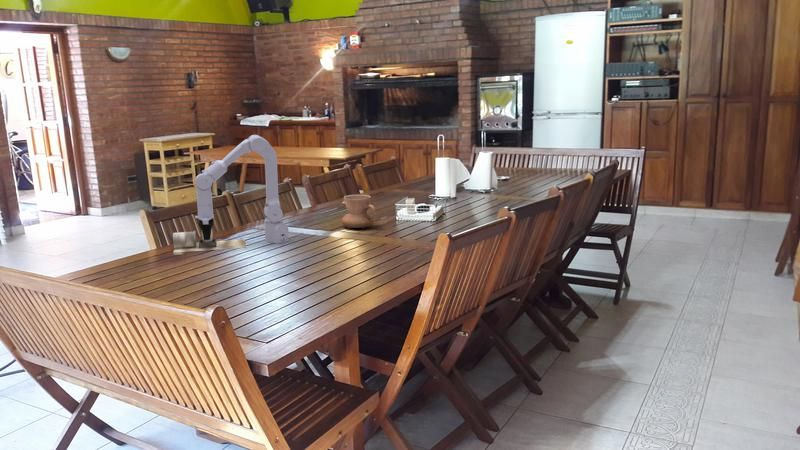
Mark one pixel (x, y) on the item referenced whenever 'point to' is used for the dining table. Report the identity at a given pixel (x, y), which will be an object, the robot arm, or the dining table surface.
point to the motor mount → (201, 243)
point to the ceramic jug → (358, 211)
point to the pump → (207, 240)
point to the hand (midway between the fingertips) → (207, 238)
